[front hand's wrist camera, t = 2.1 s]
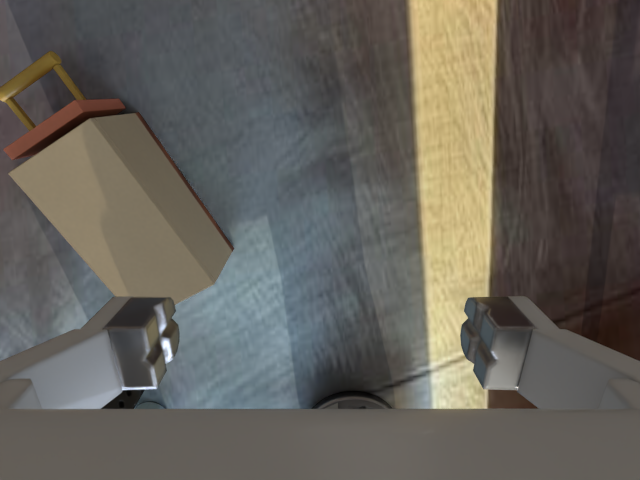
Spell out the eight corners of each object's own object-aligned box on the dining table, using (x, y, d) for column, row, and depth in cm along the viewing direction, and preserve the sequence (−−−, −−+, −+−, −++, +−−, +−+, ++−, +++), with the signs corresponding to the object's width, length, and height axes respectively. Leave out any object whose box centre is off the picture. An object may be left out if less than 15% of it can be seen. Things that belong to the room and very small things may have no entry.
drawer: (23, 95, 42) (-43, 95, 34) (85, 50, 40) (30, 40, 33) (158, 264, 50) (128, 296, 42) (214, 233, 48) (194, 260, 40)
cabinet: (71, 156, 45) (7, 173, 36) (138, 112, 43) (89, 117, 34) (171, 282, 52) (139, 324, 42) (234, 248, 50) (214, 284, 40)
